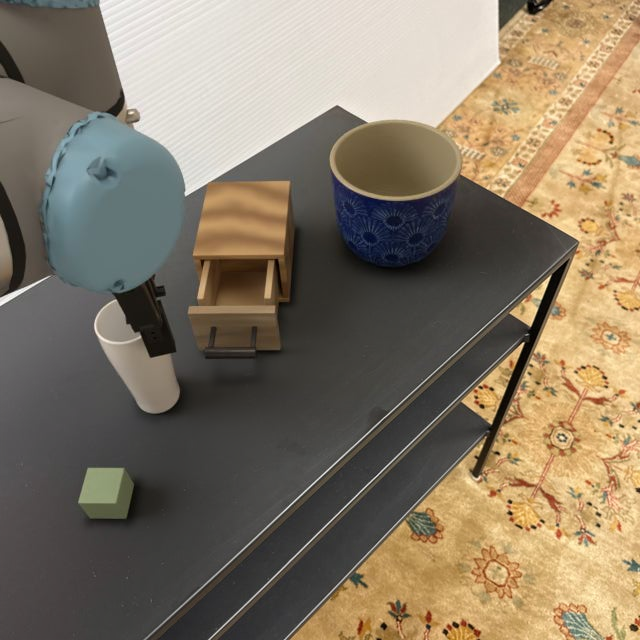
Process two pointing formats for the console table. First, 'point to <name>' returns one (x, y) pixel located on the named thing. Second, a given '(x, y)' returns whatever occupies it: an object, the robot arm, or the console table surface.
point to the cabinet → (248, 226)
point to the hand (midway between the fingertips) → (162, 349)
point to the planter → (394, 189)
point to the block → (106, 493)
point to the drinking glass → (136, 362)
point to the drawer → (237, 308)
